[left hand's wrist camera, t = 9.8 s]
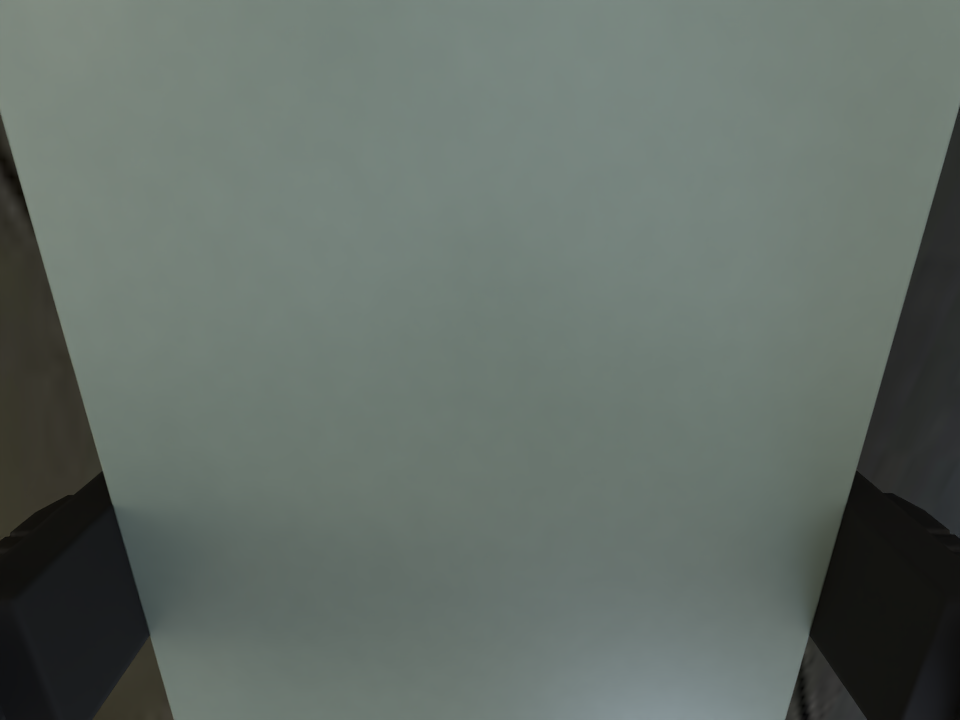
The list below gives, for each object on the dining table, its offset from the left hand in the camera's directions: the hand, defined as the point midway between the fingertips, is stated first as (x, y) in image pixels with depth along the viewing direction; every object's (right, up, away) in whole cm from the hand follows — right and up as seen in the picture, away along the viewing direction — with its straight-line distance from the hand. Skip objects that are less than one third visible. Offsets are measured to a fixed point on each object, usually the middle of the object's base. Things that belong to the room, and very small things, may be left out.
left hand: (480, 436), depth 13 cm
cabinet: (0, +7, +4) cm, 8 cm away
